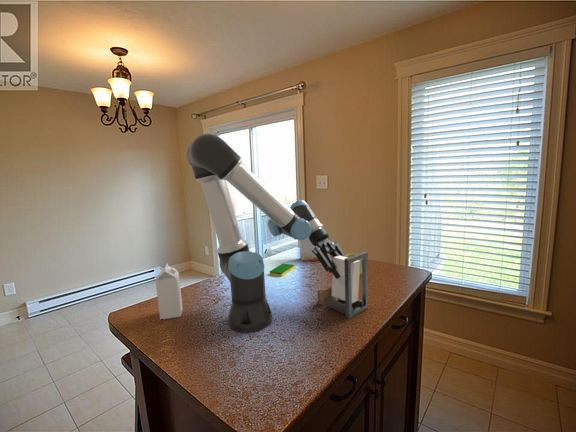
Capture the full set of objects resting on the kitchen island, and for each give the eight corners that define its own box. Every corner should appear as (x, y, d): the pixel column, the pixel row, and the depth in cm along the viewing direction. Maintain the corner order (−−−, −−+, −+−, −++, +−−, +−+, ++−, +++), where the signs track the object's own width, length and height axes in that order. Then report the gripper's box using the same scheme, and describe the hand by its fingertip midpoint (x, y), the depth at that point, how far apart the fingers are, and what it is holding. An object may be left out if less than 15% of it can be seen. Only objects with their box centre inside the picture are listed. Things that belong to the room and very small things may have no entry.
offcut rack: (349, 319, 96) (348, 259, 93) (323, 308, 104) (321, 253, 101) (368, 307, 103) (367, 252, 100) (342, 298, 112) (341, 247, 109)
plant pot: (369, 274, 136) (369, 257, 134) (353, 278, 132) (352, 260, 131) (357, 269, 144) (357, 252, 143) (342, 272, 141) (341, 255, 140)
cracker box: (324, 257, 166) (323, 223, 163) (324, 260, 160) (323, 224, 157) (300, 258, 168) (299, 223, 165) (300, 261, 162) (298, 225, 159)
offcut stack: (323, 305, 107) (323, 290, 106) (318, 303, 109) (317, 288, 108) (337, 298, 112) (336, 284, 111) (331, 296, 114) (330, 282, 113)
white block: (351, 303, 100) (354, 262, 98) (331, 295, 106) (333, 257, 105) (357, 300, 103) (360, 260, 101) (337, 293, 109) (340, 255, 107)
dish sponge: (294, 268, 151) (294, 264, 150) (281, 277, 139) (281, 273, 138) (283, 267, 154) (283, 263, 154) (269, 275, 142) (269, 271, 142)
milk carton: (160, 320, 101) (153, 270, 99) (163, 311, 108) (157, 264, 105) (180, 316, 103) (175, 267, 100) (182, 308, 110) (177, 261, 107)
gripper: (325, 235, 121) (357, 282, 111) (295, 241, 109) (328, 294, 99) (334, 224, 116) (369, 272, 106) (305, 230, 105) (340, 284, 95)
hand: (349, 283), depth 103 cm, fingers closed on white block, 4 cm apart
